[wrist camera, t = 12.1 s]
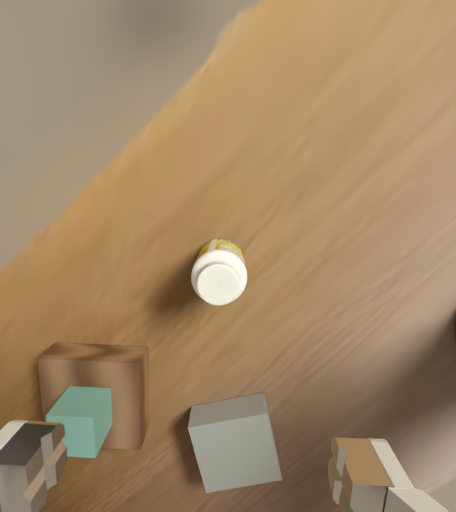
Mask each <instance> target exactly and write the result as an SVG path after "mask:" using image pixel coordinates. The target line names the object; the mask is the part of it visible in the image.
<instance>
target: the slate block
mask: <svg viewBox="0 0 456 512" xmlns="http://www.w3.org/2000/svg"><path fill="white" fill-rule="evenodd" d="M188 431H189V434H190V438H191V441H192V445H193V448H194V452H195V455H196V459H197V462H198V466H199V470H200V473H201V477H202V480H203V484H204V487H205V491H206V493H210V492H216V491H222V490H227V489H233V488H239V487H245V486H251V485H257V484H262V483H268V482H274V481H280V480H282V476H281V470H280V465H279V459H278V454H277V449H276V444H275V440H274V435H273V431H272V426H271V421H270V417H269V412H268V408H267V403H266V399H265V394H264V393H260V394H254V395H249V396H243V397H238V398H233V399H227V400H222V401H217V402H211V403H206V404H201V405H195V406H192V407H191V413H190V418H189V424H188Z"/></svg>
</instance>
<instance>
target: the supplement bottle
mask: <svg viewBox="0 0 456 512" xmlns="http://www.w3.org/2000/svg"><path fill="white" fill-rule="evenodd" d="M191 282H192V286H193V288H194V290H195V292H196V293H197V294H198V296H199V297H201V298H202V299H203V300H204V301H206V302H207V303H209V304H212V305H225V304H227V303H230V302H232V301H234V300H235V299H237V298H238V297H239V296H240V295H241V294H242V292H243V291H244V289H245V286H246V283H247V271H246V266H245V262H244V257H243V254H242V252H241V250H240V248H239V247H238V246H237V245H236V244H235V243H234V242H232V241H230V240H227V239H215V240H212V241H210V242H208V243H207V244H205V245H204V246H203V248H202V249H201V251H200V253H199V255H198V257H197V259H196V262H195V264H194V266H193V269H192V273H191Z"/></svg>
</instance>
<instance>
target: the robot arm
mask: <svg viewBox="0 0 456 512" xmlns="http://www.w3.org/2000/svg"><path fill="white" fill-rule="evenodd" d="M64 436H65V427H64V425H63V424H62V423H54V422H42V421H24V420H12V421H10V422H8V423H7V424H6V425H5V426H4V427H3V428H2V429H1V430H0V512H39V511H40V510H41V508H42V507H43V505H44V503H45V502H46V500H47V498H48V496H47V490H48V489H50V488H51V487H52V486H54V485H55V484H57V482H58V480H59V479H60V477H61V475H62V474H63V471H64V468H65V465H66V461H67V447H66V445H65V444H64V443H63V442H62V441H61V440H62V439H63V437H64ZM330 450H331V453H332V456H333V457H332V458H331V459H330V460H329V462H328V482H329V487H330V492H331V496H332V499H333V500H334V501H335V502H336V503H337V504H338V512H449V511H448V510H446V509H445V508H444V507H443V506H441V505H440V504H438V503H437V502H436V501H435V500H434V499H432V498H431V497H430V496H428V495H427V494H426V493H425V492H423V491H422V490H421V489H415V488H414V487H413V485H412V483H411V482H410V480H409V478H408V476H407V475H406V473H405V471H404V470H403V468H402V466H401V464H400V463H399V461H398V459H397V458H396V456H395V454H394V452H393V451H392V449H391V447H390V446H389V444H388V442H387V441H386V440H385V439H376V438H367V439H365V438H343V437H332V440H331V445H330Z"/></svg>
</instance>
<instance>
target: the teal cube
mask: <svg viewBox="0 0 456 512" xmlns="http://www.w3.org/2000/svg"><path fill="white" fill-rule="evenodd" d="M46 422H54V423H62V424H63V425H64V427H65V436H64V437H63V439H62V440H61V441H62V442H63V443H64V444H65V445H66V447H67V457H83V458H96V456H97V454H98V452H99V450H100V448H101V446H102V444H103V442H104V440H105V438H106V436H107V434H108V432H109V430H110V428H111V426H112V400H111V388H95V387H74V386H69V387H68V389H67V390H66V391H65V392H64V394H63V395H62V396H61V397H60V398H59V400H58V401H57V402H56V403H55V405H54V406H53V407H52V408H51V410H50V411H49V412H48V413H47V415H46Z"/></svg>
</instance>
